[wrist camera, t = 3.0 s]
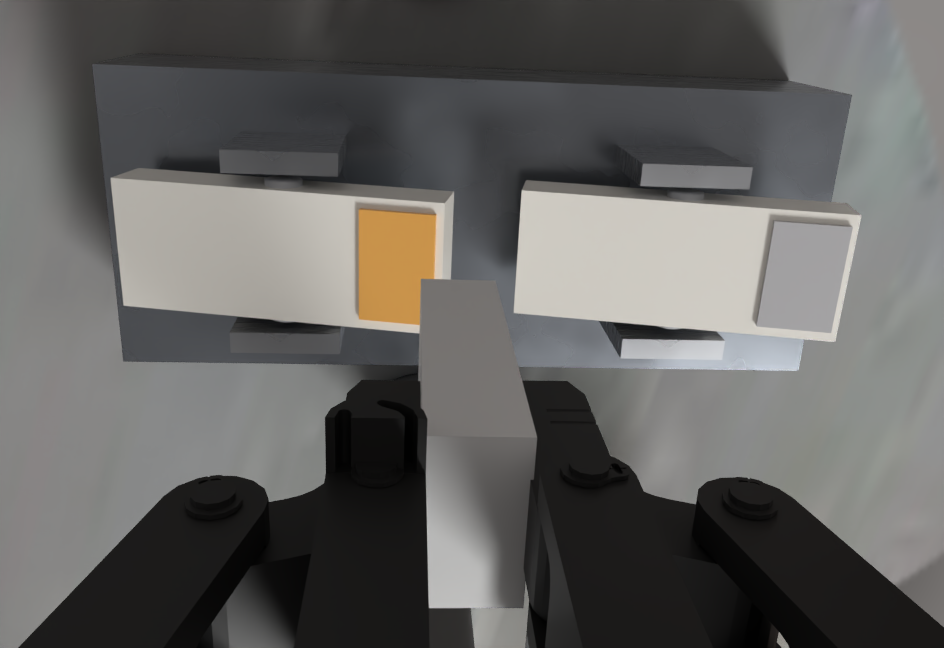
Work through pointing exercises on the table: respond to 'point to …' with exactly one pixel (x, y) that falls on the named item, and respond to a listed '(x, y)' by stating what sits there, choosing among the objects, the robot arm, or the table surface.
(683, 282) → the paddle
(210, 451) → the table surface
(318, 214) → the paddle
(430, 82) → the panel
